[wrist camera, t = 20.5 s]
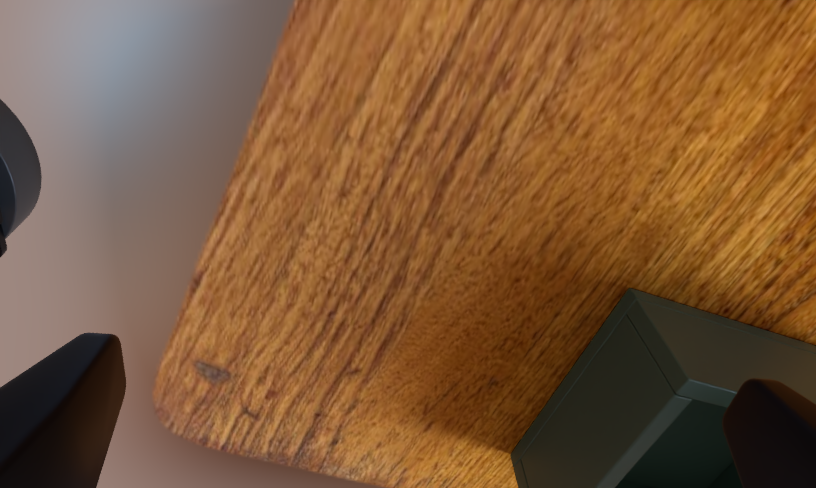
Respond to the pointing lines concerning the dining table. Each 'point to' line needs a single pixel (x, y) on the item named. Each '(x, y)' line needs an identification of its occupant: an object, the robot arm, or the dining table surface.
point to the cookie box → (655, 400)
